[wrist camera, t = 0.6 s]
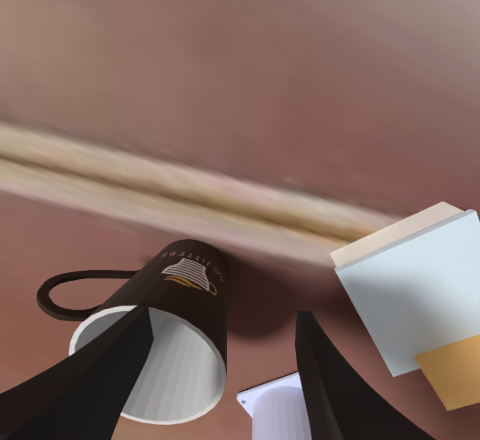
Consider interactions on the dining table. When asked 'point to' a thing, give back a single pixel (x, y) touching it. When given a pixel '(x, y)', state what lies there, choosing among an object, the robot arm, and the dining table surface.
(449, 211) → the tub
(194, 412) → the coffee mug
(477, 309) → the lid
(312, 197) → the dining table surface
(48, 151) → the dining table surface
